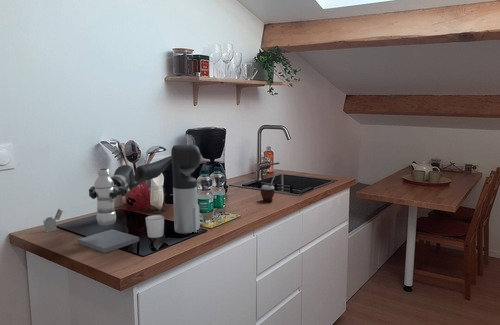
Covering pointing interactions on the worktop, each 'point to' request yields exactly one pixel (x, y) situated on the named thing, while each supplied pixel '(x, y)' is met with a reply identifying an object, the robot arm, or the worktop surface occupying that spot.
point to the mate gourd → (268, 191)
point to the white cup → (155, 226)
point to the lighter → (52, 222)
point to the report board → (108, 240)
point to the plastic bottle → (104, 198)
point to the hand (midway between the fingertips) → (102, 195)
